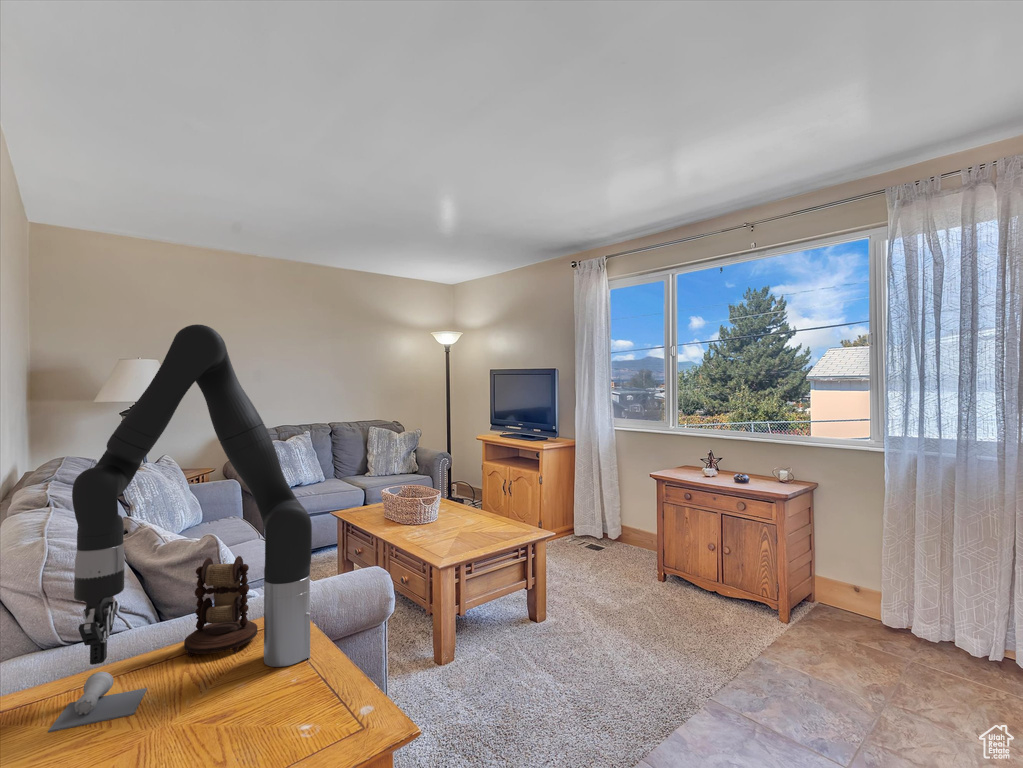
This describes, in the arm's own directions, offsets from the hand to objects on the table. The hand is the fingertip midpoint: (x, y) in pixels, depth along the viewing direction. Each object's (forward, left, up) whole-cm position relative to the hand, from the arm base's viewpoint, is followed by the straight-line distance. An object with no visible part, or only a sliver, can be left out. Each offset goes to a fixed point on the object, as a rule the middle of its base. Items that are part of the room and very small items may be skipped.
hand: (98, 662), depth 97 cm
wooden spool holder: (-19, -15, -7) cm, 25 cm away
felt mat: (-2, +5, -6) cm, 9 cm away
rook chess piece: (0, -1, -4) cm, 4 cm away
